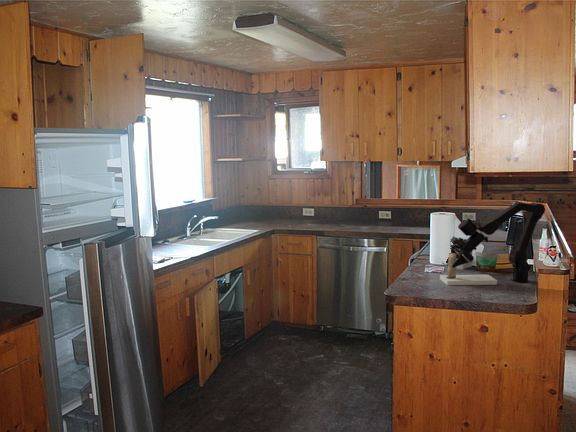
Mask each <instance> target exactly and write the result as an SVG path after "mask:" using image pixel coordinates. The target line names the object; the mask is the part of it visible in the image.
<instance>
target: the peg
mask: <svg viewBox="0 0 576 432" xmlns="http://www.w3.org/2000/svg"><path fill="white" fill-rule="evenodd" d="M455 261H456V254H455V253H449V262H448V265H447V268H448V270H447V272H448V273H447V275H448V277H449V279H455V278H456V275H457V268H456V267H454V268H453V267H452V265H453V263H454V262H455Z"/></svg>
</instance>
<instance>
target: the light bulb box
mask: <svg viewBox="0 0 576 432" xmlns="http://www.w3.org/2000/svg"><path fill="white" fill-rule="evenodd" d="M470 254H471V255H472V256H473V251H472V252H471V253H470ZM457 259H458V258H457ZM457 259H456V260H457ZM471 267H473V261H472V262H469V263H466V264H462V265H460V266H457V267H456V270H457V269H458V270H466V269H468V268H471Z"/></svg>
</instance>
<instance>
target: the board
mask: <svg viewBox="0 0 576 432" xmlns="http://www.w3.org/2000/svg"><path fill="white" fill-rule="evenodd" d="M439 280H440V281H442V283H444V284H445V285H447V286H480V285H481V286H483V285H487V286H489V285H492V286H493V285H498V280H497V279H495V278H494V277H492V276H491V275H489V274H456V278H455V279H449V277H448V274H440V275H439Z"/></svg>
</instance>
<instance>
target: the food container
mask: <svg viewBox="0 0 576 432" xmlns="http://www.w3.org/2000/svg"><path fill="white" fill-rule="evenodd" d="M473 255H475V259H476V260H475V262H476V263H475V264H476V270H477V271H480V272H485V273H486V272H487V273H488V272H490V273H491V272H495V271H496V267H497V261H498V257H499V256H500V254H499V252H494V253H493V252H487V251H486V252H479V251H474V254H473Z"/></svg>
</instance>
